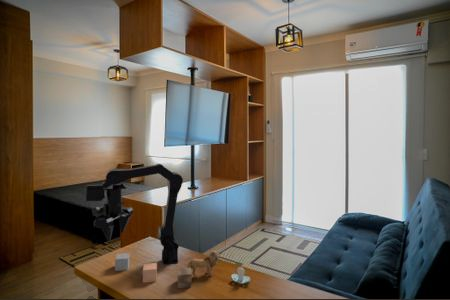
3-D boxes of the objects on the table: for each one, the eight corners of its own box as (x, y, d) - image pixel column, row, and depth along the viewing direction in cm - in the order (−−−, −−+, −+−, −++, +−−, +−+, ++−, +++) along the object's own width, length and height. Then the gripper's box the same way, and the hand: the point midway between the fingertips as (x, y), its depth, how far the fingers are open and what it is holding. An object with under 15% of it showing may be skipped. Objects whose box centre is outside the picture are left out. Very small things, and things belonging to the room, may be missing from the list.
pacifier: (234, 276, 110) (230, 283, 105) (235, 261, 110) (230, 267, 105) (252, 279, 108) (248, 287, 102) (252, 264, 108) (249, 270, 102)
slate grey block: (129, 264, 118) (129, 253, 118) (127, 270, 113) (127, 258, 113) (117, 265, 117) (117, 254, 117) (115, 271, 112) (115, 259, 112)
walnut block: (190, 279, 107) (190, 267, 106) (191, 287, 102) (191, 274, 101) (177, 281, 106) (177, 268, 105) (177, 288, 101) (177, 275, 100)
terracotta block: (156, 274, 110) (156, 262, 110) (156, 281, 105) (156, 269, 105) (144, 276, 109) (144, 263, 108) (142, 282, 104) (142, 270, 104)
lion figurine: (216, 268, 116) (217, 248, 115) (220, 274, 111) (221, 253, 110) (182, 274, 111) (182, 252, 110) (185, 281, 106) (185, 258, 105)
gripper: (111, 193, 123) (112, 227, 124) (81, 204, 105) (82, 244, 106) (133, 195, 120) (134, 229, 122) (106, 206, 102) (107, 246, 103)
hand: (115, 236), depth 113 cm, fingers open, 9 cm apart
